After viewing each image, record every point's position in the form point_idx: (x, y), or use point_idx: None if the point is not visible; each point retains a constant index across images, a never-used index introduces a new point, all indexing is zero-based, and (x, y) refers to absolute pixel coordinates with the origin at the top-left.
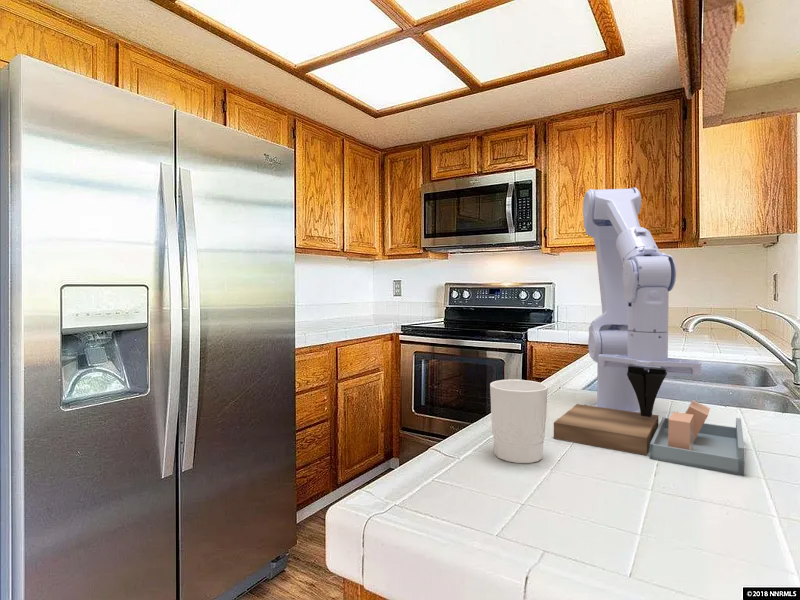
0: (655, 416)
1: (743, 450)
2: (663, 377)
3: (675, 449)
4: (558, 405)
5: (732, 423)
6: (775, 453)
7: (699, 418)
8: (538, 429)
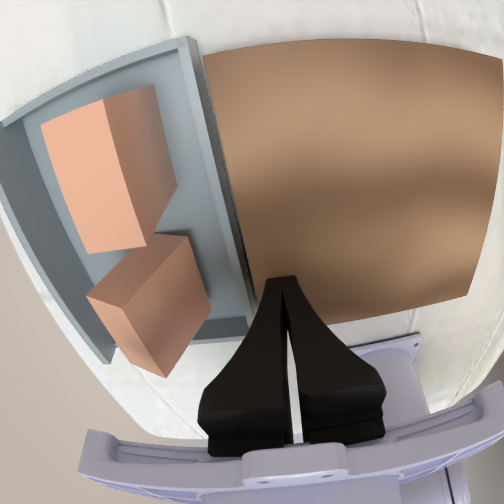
0: None
1: None
2: (199, 409)
3: (112, 61)
4: (476, 321)
5: (177, 396)
6: None
7: (109, 285)
8: None
